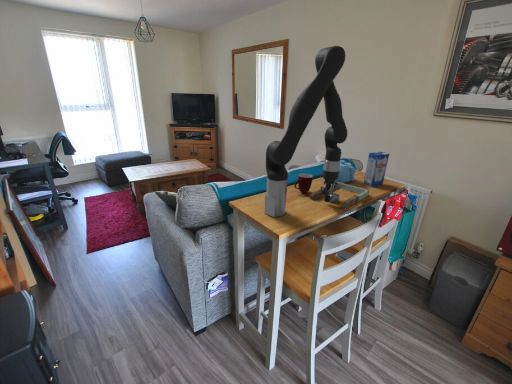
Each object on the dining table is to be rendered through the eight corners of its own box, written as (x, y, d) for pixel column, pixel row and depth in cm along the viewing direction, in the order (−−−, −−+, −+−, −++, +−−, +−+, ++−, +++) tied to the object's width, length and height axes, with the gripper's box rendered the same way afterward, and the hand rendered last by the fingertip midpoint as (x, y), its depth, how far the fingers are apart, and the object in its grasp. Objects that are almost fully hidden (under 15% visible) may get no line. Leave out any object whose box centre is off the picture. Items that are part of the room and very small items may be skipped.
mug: (299, 196, 139) (301, 179, 135) (290, 191, 145) (291, 175, 142) (313, 193, 144) (315, 176, 140) (304, 188, 150) (306, 172, 147)
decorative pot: (327, 176, 175) (329, 156, 170) (351, 178, 171) (354, 158, 166) (327, 183, 160) (329, 162, 155) (354, 186, 157) (357, 164, 152)
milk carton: (374, 182, 165) (380, 151, 157) (382, 185, 160) (389, 153, 152) (363, 183, 161) (369, 152, 154) (371, 187, 156) (377, 155, 148)
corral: (358, 201, 134) (359, 196, 133) (324, 191, 147) (324, 186, 146) (368, 195, 143) (369, 190, 142) (335, 186, 156) (335, 181, 155)
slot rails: (343, 210, 124) (344, 204, 122) (310, 199, 136) (310, 194, 135) (357, 201, 134) (358, 196, 133) (325, 191, 146) (325, 186, 145)
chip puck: (335, 204, 130) (336, 198, 129) (324, 200, 134) (325, 194, 133) (340, 201, 134) (341, 195, 133) (330, 197, 138) (331, 191, 137)
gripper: (331, 173, 116) (327, 207, 122) (344, 168, 125) (339, 200, 131) (317, 169, 121) (313, 203, 127) (331, 164, 130) (326, 196, 136)
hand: (327, 201), depth 129 cm, fingers closed
